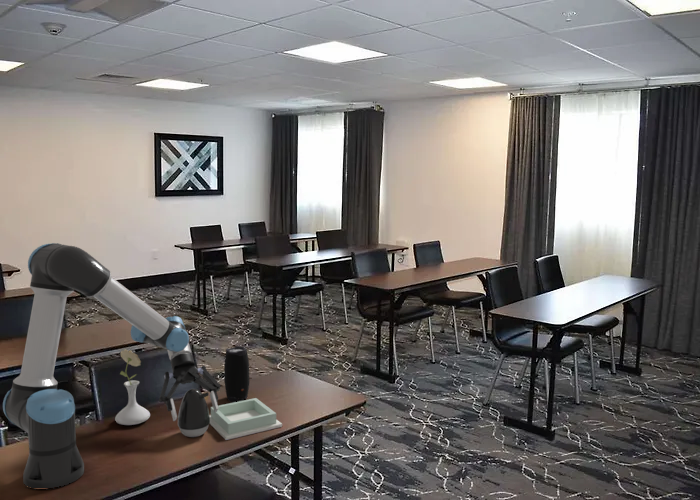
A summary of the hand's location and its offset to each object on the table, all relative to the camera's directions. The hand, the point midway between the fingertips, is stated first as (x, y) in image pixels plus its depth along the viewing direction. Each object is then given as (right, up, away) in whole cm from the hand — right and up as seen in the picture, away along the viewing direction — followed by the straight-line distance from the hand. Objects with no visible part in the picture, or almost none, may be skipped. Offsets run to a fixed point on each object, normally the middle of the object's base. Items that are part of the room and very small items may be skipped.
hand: (196, 414), depth 188 cm
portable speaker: (+7, -4, +35) cm, 36 cm away
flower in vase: (-26, -6, +13) cm, 29 cm away
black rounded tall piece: (-1, -7, +3) cm, 8 cm away
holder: (+13, -6, +12) cm, 18 cm away
